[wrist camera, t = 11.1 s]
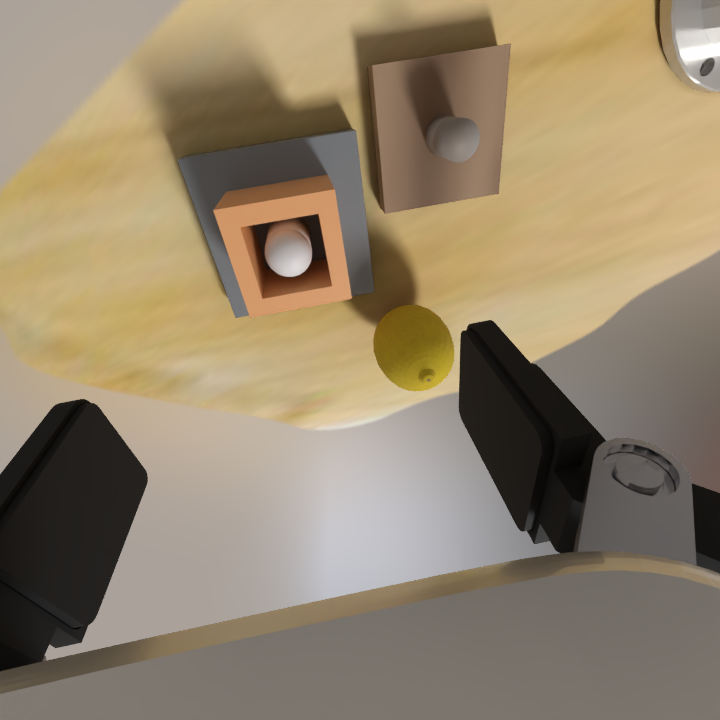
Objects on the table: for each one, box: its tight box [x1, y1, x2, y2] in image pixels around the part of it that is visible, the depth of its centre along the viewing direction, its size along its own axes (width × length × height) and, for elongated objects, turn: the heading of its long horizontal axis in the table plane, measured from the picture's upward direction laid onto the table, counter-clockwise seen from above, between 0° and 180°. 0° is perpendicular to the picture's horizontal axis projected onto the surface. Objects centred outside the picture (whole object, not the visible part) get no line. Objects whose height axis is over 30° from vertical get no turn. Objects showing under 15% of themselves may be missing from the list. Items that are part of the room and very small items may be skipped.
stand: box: [368, 44, 511, 214], centre depth 21 cm, size 8×8×4 cm
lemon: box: [374, 305, 454, 391], centre depth 27 cm, size 6×6×8 cm
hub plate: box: [178, 129, 375, 318], centre depth 22 cm, size 10×10×6 cm
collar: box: [213, 175, 352, 318], centre depth 22 cm, size 6×6×4 cm
